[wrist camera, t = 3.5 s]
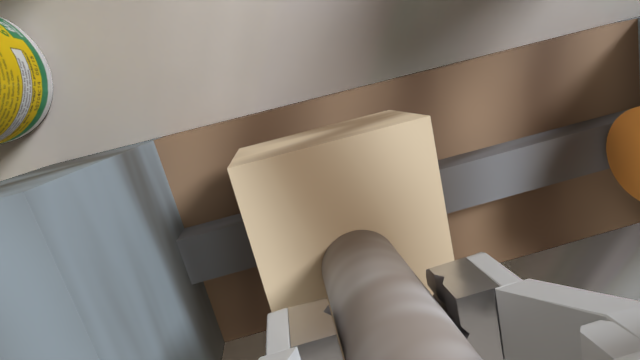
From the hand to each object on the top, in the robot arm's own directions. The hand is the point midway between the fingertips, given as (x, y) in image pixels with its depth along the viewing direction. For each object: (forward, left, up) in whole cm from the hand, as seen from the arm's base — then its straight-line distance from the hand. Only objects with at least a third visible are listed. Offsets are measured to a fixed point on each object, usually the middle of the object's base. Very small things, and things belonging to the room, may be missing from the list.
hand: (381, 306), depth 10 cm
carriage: (0, 0, -6) cm, 6 cm away
